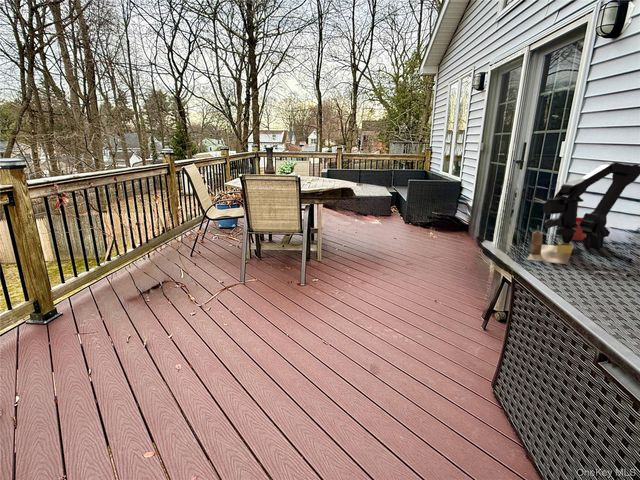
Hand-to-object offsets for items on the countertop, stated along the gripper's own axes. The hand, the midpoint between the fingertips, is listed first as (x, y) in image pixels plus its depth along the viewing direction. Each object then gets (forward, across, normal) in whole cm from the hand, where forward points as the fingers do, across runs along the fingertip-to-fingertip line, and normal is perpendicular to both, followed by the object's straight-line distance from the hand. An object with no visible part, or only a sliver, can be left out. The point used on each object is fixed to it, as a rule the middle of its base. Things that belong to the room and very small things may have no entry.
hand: (565, 246), depth 152 cm
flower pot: (+2, -25, +1) cm, 25 cm away
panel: (+2, +9, -4) cm, 10 cm away
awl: (+1, +12, -10) cm, 15 cm away
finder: (+1, +5, 0) cm, 5 cm away
